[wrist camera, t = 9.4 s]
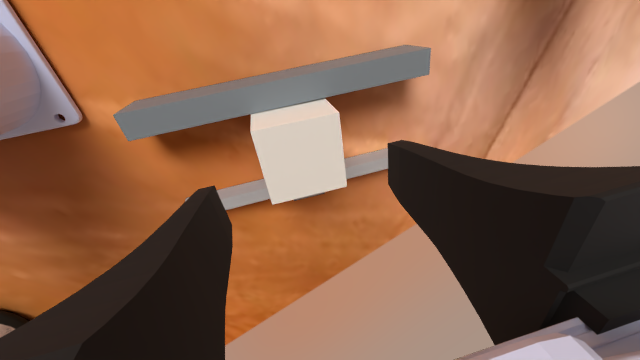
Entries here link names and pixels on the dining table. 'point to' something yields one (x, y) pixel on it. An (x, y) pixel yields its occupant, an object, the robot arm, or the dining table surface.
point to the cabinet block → (299, 150)
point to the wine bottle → (10, 322)
